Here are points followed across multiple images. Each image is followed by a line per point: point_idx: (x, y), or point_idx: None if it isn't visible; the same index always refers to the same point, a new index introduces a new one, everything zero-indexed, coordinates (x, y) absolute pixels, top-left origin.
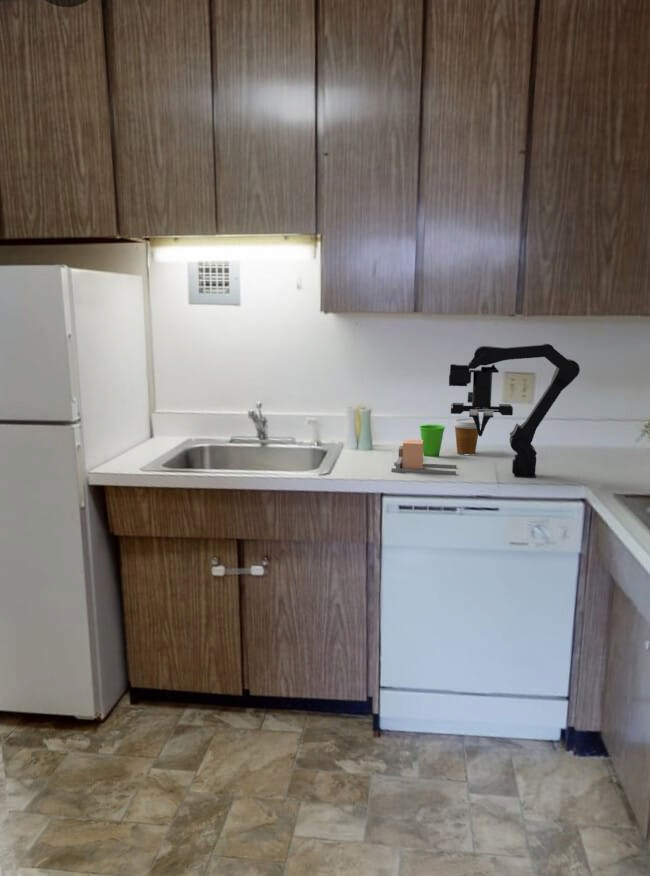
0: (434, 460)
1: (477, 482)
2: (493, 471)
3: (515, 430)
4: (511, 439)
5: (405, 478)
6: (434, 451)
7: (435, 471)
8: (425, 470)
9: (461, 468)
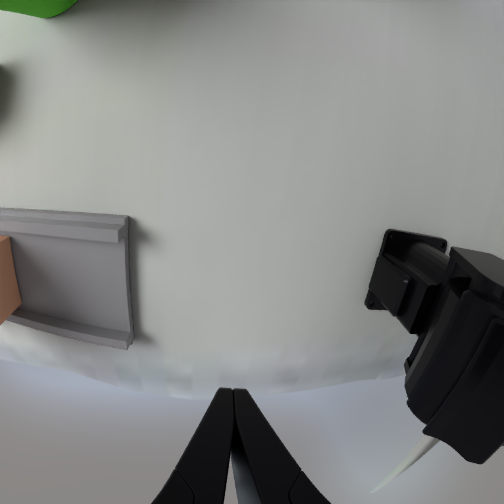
0: (59, 34)
1: (211, 379)
2: (307, 214)
3: (476, 432)
4: (429, 406)
5: (10, 333)
6: (45, 5)
7: (59, 333)
8: (31, 327)
9: (154, 164)
